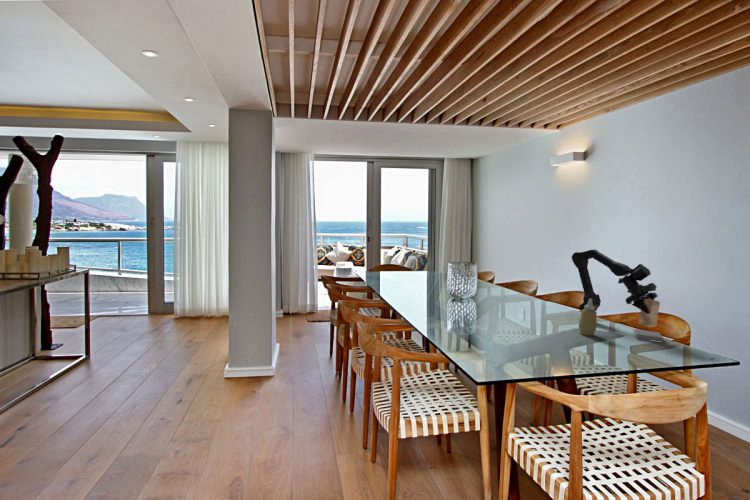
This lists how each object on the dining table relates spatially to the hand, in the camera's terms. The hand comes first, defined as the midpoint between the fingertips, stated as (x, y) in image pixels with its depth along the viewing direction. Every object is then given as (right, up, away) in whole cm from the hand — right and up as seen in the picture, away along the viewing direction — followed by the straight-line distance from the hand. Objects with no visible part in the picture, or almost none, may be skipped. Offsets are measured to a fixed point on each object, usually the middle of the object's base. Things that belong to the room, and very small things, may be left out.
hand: (652, 313), depth 220 cm
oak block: (-1, -6, +2) cm, 7 cm away
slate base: (0, -13, +4) cm, 14 cm away
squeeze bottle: (-30, -11, +4) cm, 33 cm away
